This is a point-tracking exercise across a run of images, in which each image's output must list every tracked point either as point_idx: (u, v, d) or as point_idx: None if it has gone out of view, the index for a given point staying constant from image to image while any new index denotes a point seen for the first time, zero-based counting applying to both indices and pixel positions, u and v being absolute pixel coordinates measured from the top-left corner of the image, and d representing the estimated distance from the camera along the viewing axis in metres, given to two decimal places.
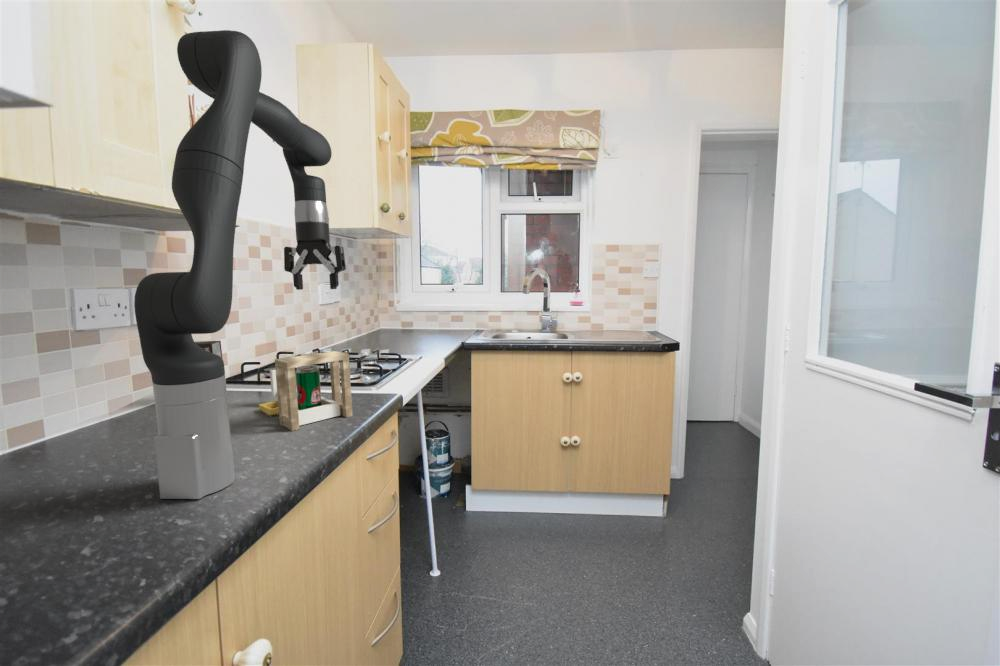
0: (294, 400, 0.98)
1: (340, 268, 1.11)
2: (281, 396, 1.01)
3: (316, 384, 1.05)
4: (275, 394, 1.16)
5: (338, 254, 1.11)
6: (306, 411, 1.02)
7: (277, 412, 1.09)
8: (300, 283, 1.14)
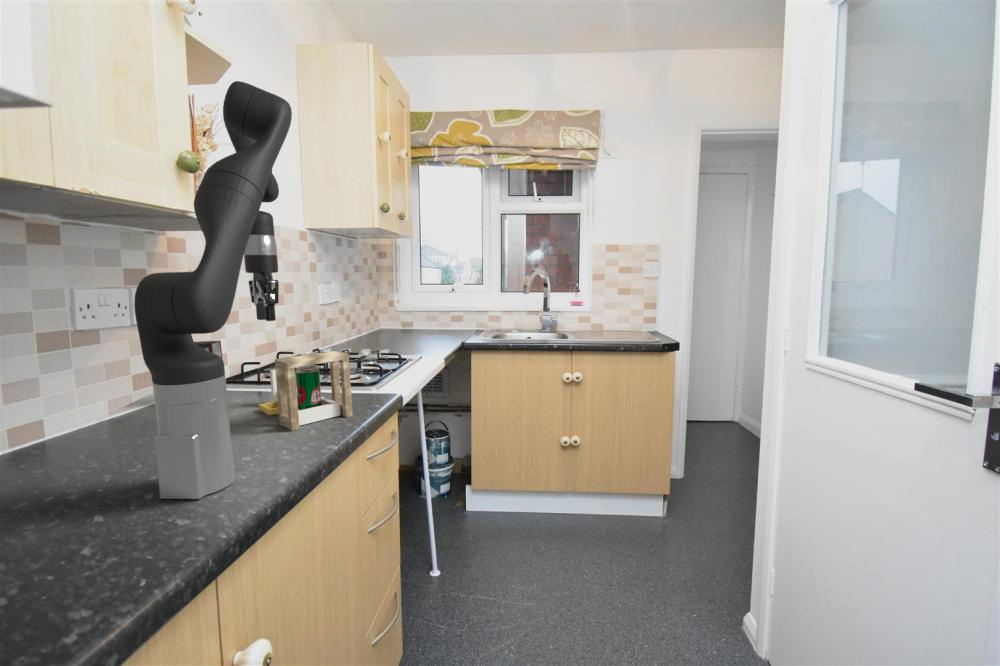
0: (294, 400, 0.98)
1: None
2: (281, 396, 1.01)
3: (316, 384, 1.05)
4: (275, 394, 1.16)
5: None
6: (306, 411, 1.02)
7: (277, 412, 1.09)
8: None
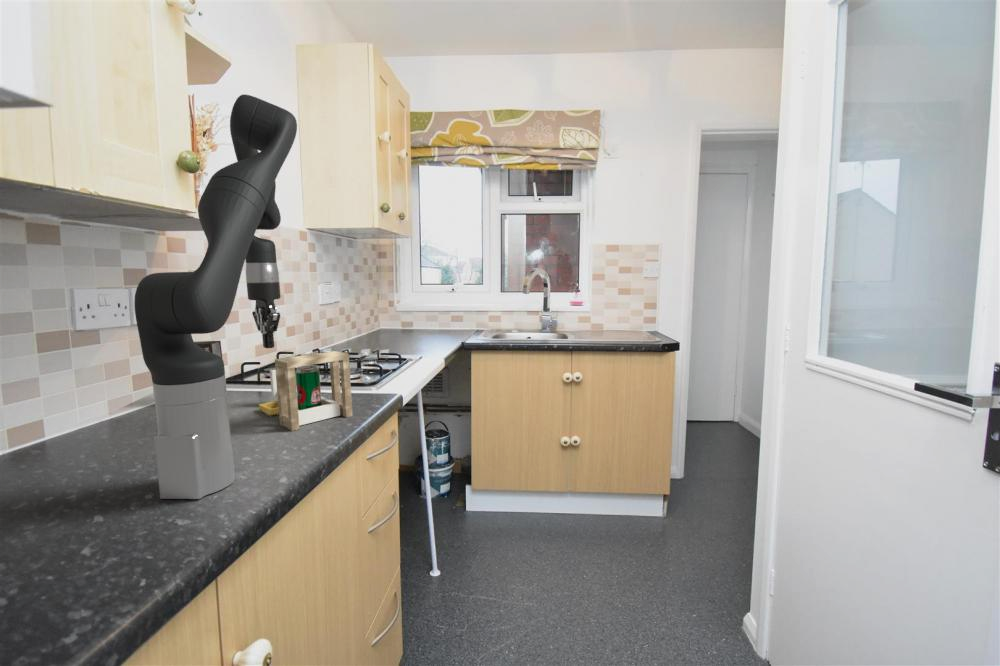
0: (294, 400, 0.98)
1: None
2: (281, 396, 1.01)
3: (316, 384, 1.05)
4: (275, 394, 1.16)
5: None
6: (306, 411, 1.02)
7: (277, 412, 1.09)
8: None
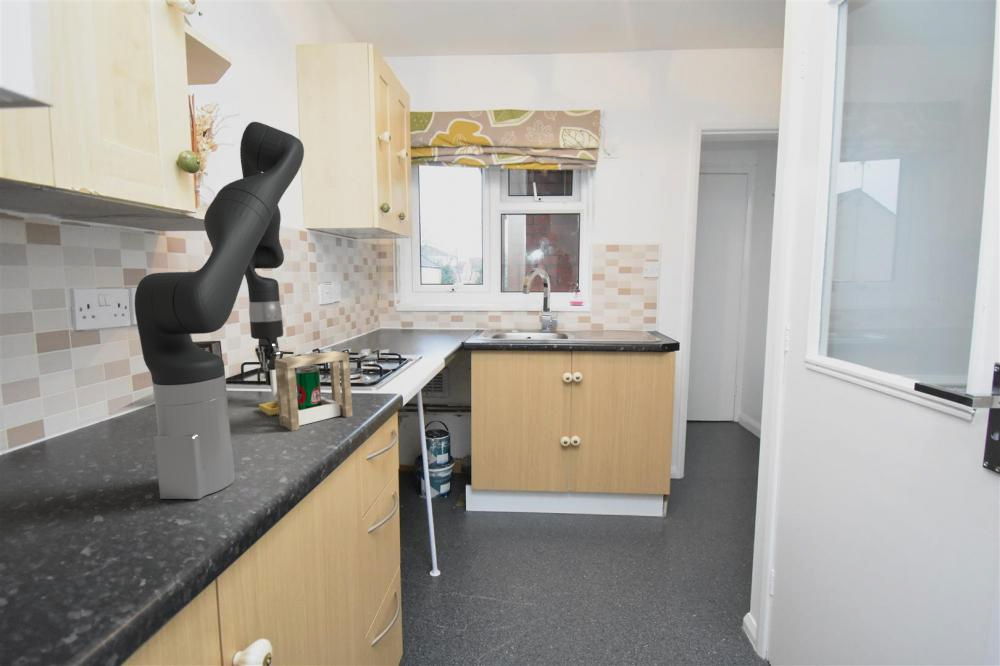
0: (294, 400, 0.98)
1: None
2: (281, 396, 1.01)
3: (316, 384, 1.05)
4: (275, 394, 1.16)
5: None
6: (306, 411, 1.02)
7: (277, 412, 1.09)
8: None
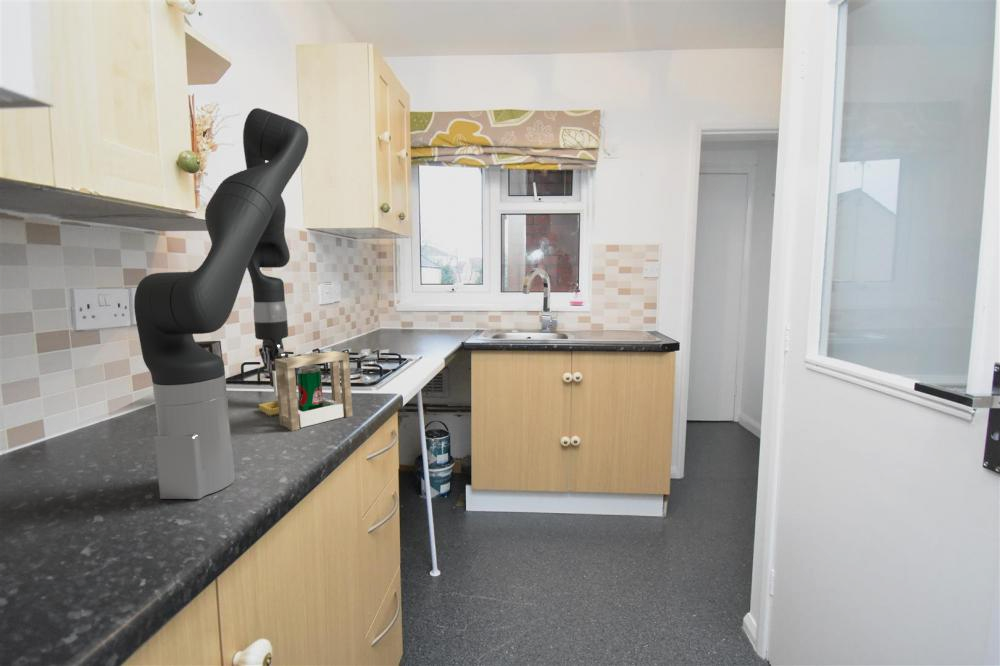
0: (294, 400, 0.98)
1: None
2: (281, 396, 1.01)
3: (317, 384, 1.05)
4: None
5: None
6: (309, 412, 1.01)
7: (277, 412, 1.09)
8: None
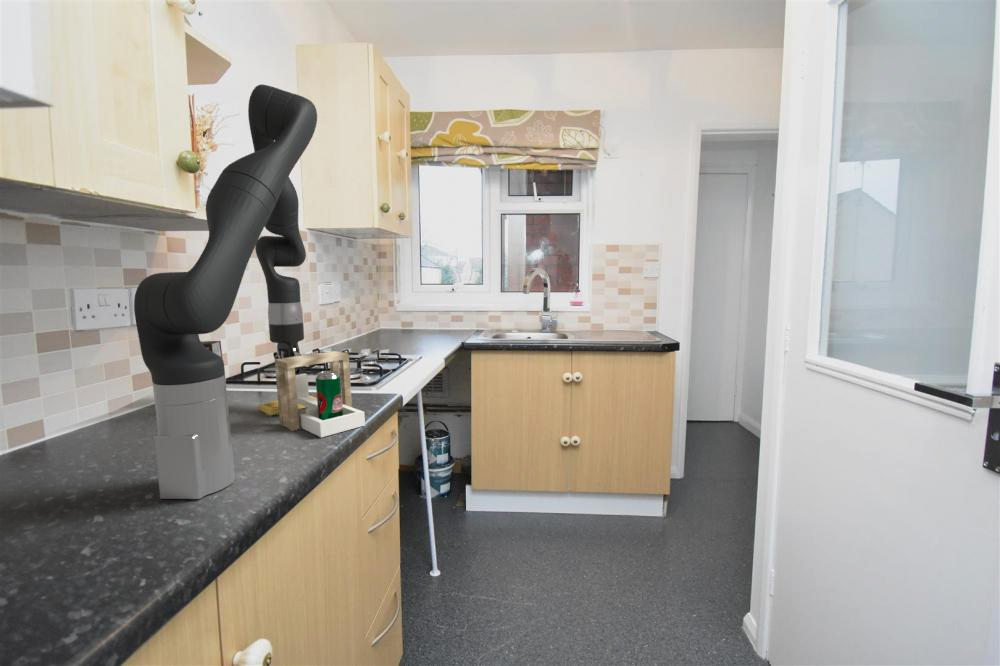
0: (294, 400, 0.98)
1: None
2: (281, 396, 1.01)
3: (337, 391, 0.98)
4: None
5: None
6: (330, 421, 0.94)
7: (277, 412, 1.09)
8: None
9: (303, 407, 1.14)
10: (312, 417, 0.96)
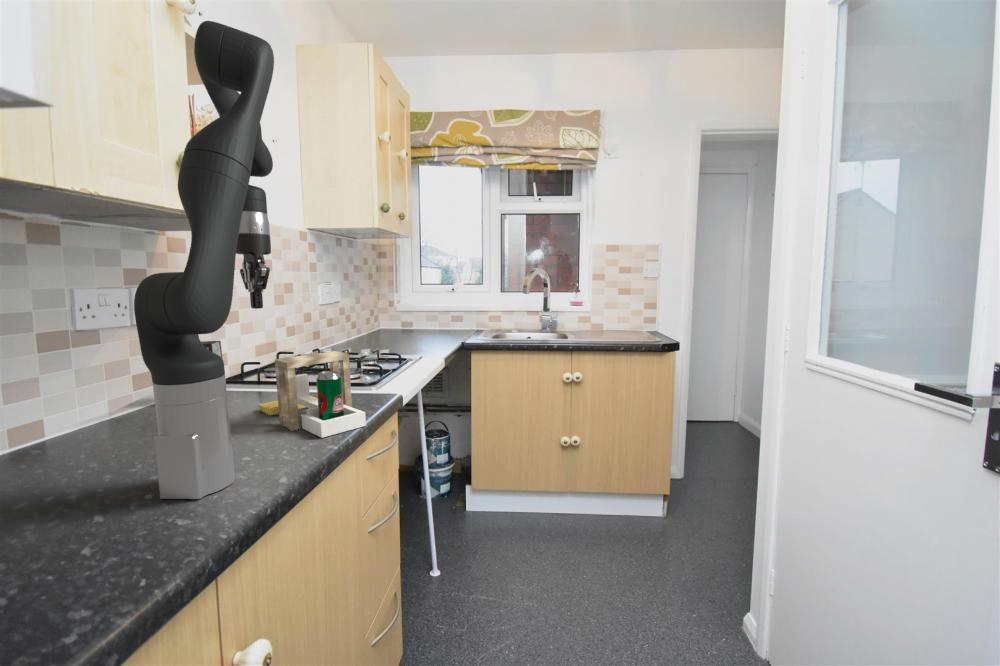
0: (294, 400, 0.98)
1: None
2: (281, 396, 1.01)
3: (338, 391, 0.98)
4: None
5: None
6: (331, 421, 0.94)
7: (277, 412, 1.09)
8: None
9: (303, 407, 1.14)
10: (313, 417, 0.96)
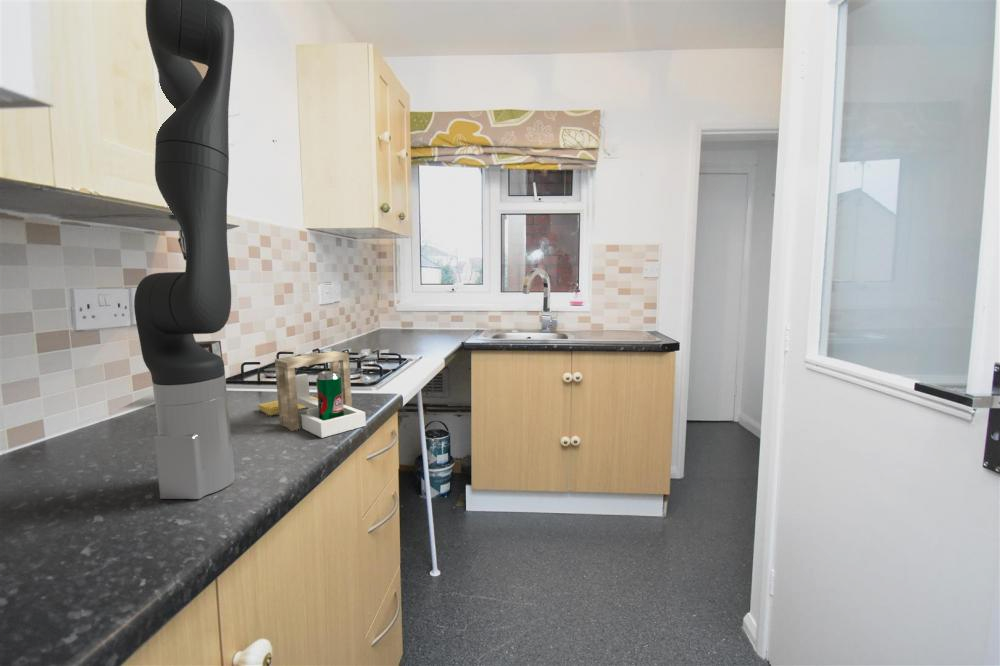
0: (294, 400, 0.98)
1: None
2: (281, 396, 1.01)
3: (338, 391, 0.98)
4: None
5: None
6: (331, 421, 0.94)
7: (277, 412, 1.09)
8: None
9: (303, 407, 1.14)
10: (313, 417, 0.96)
